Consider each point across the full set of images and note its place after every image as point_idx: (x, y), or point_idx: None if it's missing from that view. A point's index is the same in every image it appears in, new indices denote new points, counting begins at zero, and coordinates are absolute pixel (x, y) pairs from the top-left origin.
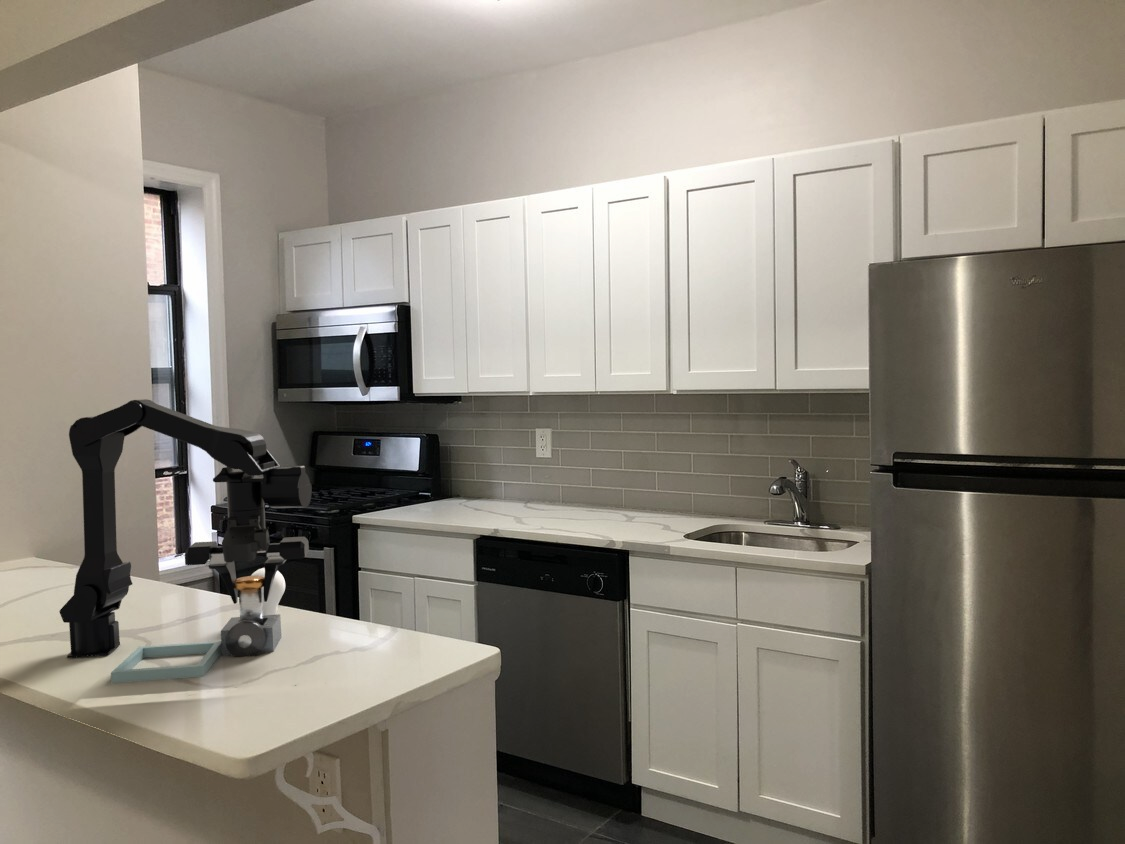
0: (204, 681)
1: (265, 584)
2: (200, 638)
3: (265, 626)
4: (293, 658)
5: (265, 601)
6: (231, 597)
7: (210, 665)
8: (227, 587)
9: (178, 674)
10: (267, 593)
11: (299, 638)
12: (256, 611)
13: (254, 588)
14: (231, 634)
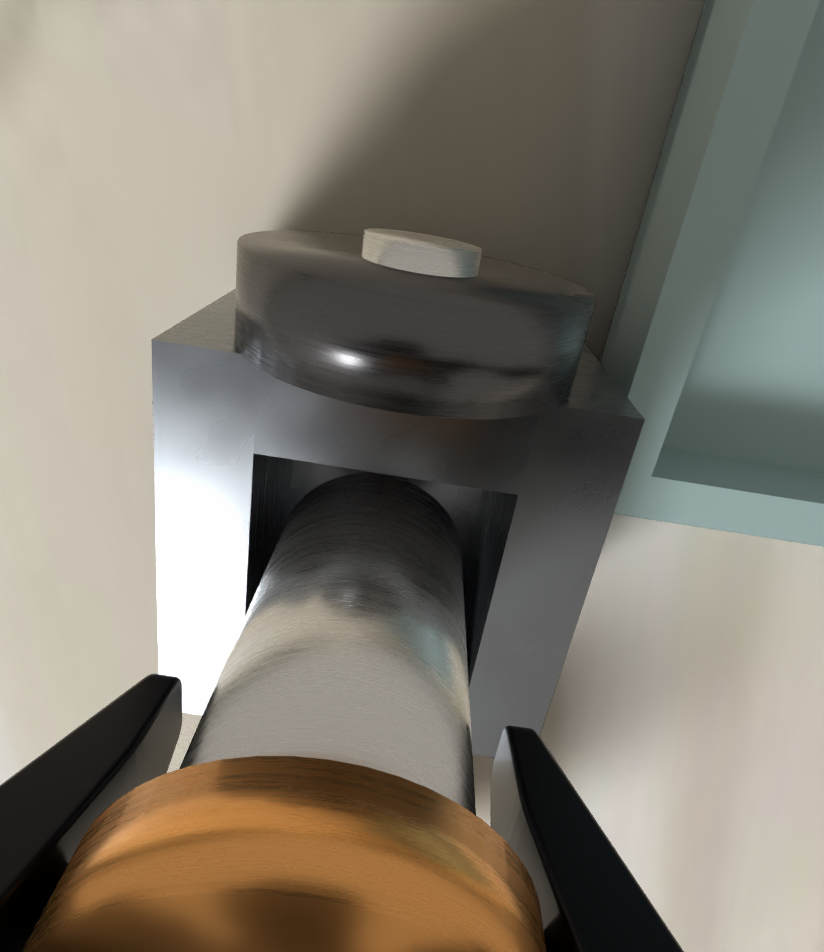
0: None
1: (8, 854)
2: (666, 804)
3: (225, 396)
4: (95, 213)
5: (166, 676)
6: (570, 787)
7: (706, 63)
8: (664, 933)
9: None
10: (81, 738)
11: (138, 624)
12: (289, 574)
13: (199, 770)
14: (546, 296)
